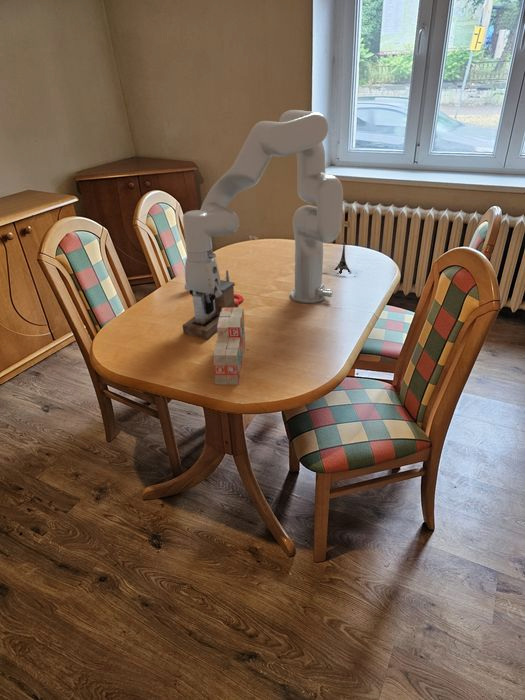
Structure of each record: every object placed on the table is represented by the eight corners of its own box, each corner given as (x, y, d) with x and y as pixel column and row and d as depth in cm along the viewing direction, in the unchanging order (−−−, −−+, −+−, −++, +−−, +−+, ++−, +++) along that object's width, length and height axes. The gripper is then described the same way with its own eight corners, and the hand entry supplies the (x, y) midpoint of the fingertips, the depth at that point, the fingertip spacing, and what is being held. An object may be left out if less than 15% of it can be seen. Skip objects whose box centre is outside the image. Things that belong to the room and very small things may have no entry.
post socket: (239, 313, 154) (237, 283, 148) (207, 339, 139) (204, 307, 134) (216, 308, 157) (214, 278, 152) (183, 333, 143) (179, 301, 137)
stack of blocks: (239, 385, 119) (236, 344, 113) (215, 385, 119) (211, 344, 113) (245, 343, 137) (243, 306, 131) (224, 343, 138) (221, 306, 131)
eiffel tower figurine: (319, 275, 182) (320, 242, 175) (327, 266, 190) (329, 234, 183) (356, 280, 177) (359, 246, 170) (363, 271, 184) (366, 238, 177)
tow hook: (222, 296, 167) (216, 306, 159) (220, 262, 161) (214, 270, 153) (245, 297, 166) (240, 307, 158) (244, 263, 160) (238, 271, 152)
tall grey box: (215, 314, 146) (213, 288, 142) (203, 324, 141) (201, 297, 136) (208, 313, 148) (205, 287, 143) (195, 322, 142) (192, 295, 138)
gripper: (230, 254, 133) (233, 311, 143) (184, 247, 140) (190, 302, 149) (216, 263, 127) (221, 321, 137) (169, 254, 134) (176, 311, 143)
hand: (205, 310), depth 143 cm, fingers closed on tall grey box, 3 cm apart
